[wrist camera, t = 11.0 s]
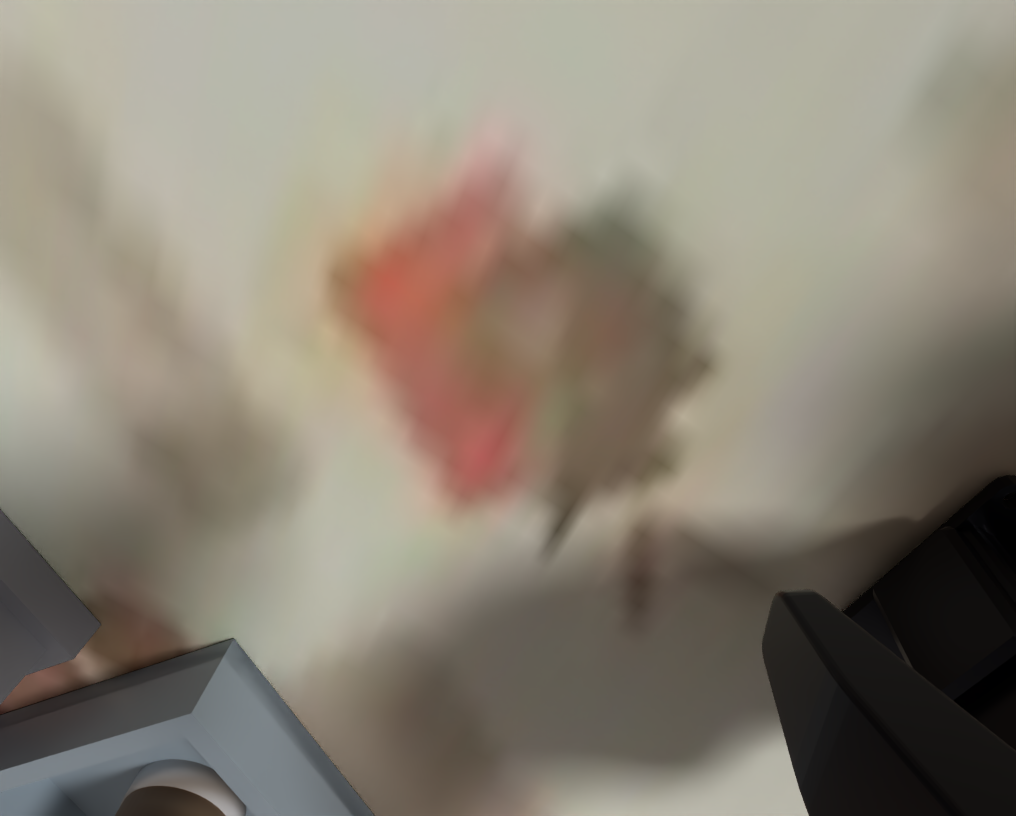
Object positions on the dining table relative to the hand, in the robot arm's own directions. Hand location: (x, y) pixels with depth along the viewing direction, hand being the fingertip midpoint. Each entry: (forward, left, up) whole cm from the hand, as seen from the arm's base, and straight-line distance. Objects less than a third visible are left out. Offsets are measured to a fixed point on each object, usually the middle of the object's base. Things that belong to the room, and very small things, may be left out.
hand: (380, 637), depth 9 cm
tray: (0, +22, -11) cm, 25 cm away
